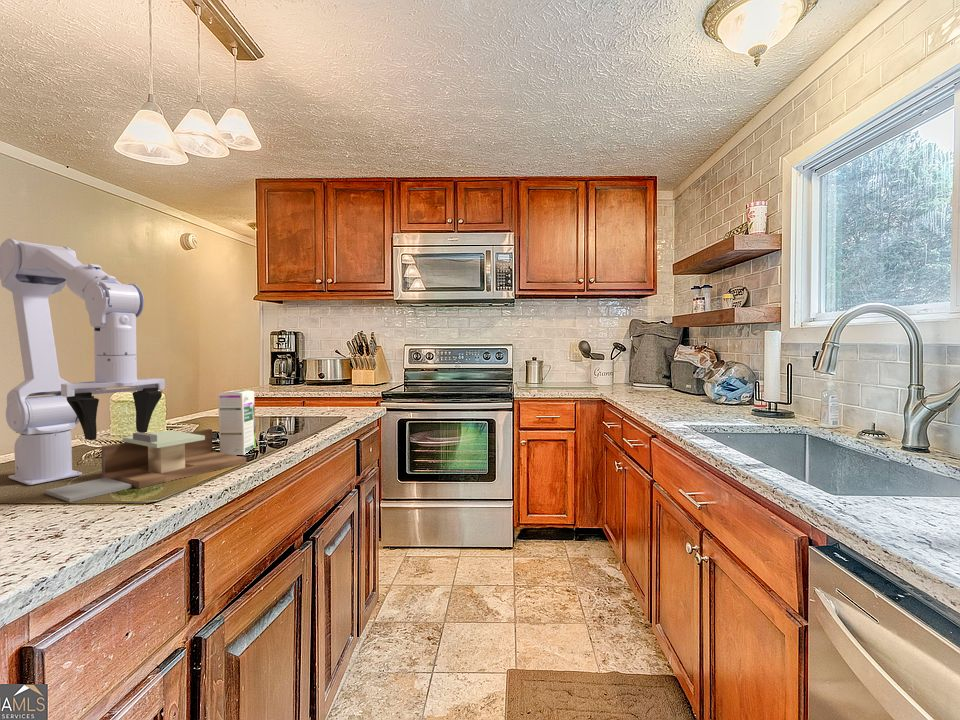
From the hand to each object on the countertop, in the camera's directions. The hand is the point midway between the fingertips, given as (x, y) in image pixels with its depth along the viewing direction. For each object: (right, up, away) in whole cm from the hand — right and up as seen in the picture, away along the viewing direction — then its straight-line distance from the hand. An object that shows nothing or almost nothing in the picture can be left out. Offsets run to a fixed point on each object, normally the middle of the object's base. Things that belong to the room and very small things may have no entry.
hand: (117, 435), depth 83 cm
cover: (-1, -3, +14) cm, 14 cm away
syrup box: (+5, -9, +31) cm, 33 cm away
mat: (-7, -10, +2) cm, 12 cm away
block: (0, -10, +14) cm, 17 cm away
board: (+1, -9, +16) cm, 19 cm away
